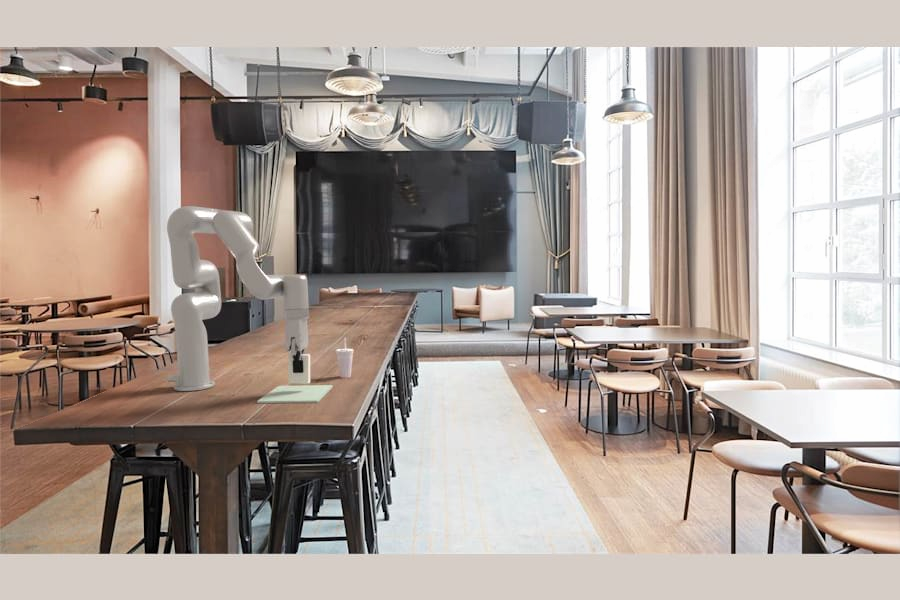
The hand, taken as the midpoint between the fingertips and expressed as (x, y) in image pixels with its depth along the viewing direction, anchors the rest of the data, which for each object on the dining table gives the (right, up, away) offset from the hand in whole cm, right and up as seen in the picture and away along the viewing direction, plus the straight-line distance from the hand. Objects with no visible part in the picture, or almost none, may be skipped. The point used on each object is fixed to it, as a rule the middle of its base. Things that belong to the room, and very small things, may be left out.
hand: (299, 371), depth 184 cm
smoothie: (+10, -5, +23) cm, 26 cm away
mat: (0, -7, -2) cm, 7 cm away
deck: (0, -4, 0) cm, 4 cm away
